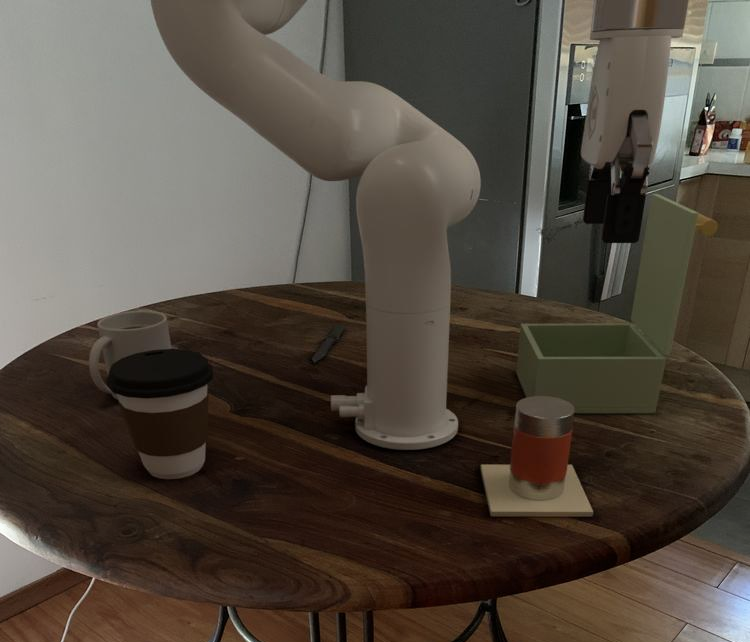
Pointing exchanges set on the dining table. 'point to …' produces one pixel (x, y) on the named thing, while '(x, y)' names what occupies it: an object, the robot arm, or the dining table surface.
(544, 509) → the mat
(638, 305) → the lid
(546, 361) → the chest
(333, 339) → the knife
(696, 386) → the dining table surface
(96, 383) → the mug
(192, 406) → the coffee cup
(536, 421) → the can
